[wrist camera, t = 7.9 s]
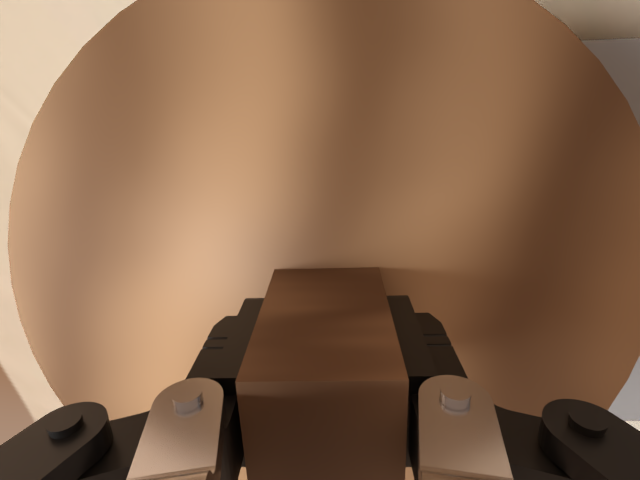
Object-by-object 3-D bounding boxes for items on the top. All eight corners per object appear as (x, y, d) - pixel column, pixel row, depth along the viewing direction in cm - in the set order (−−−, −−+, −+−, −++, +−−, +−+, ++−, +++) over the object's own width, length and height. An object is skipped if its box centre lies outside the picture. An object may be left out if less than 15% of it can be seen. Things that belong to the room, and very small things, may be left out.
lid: (715, -69, 10) (1240, -297, 4) (581, 515, 16) (718, 745, 10) (-53, -27, 11) (-498, -171, 5) (101, 514, 17) (-18, 726, 11)
